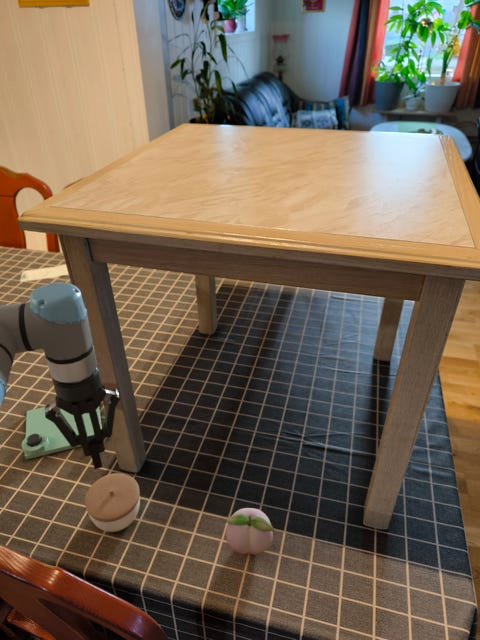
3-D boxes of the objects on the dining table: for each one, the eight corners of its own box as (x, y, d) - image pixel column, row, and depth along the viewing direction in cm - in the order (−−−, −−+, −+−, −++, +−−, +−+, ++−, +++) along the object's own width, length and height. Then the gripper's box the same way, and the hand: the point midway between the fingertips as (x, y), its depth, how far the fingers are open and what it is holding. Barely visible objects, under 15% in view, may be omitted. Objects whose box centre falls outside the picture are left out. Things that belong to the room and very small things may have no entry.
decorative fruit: (271, 527, 92) (274, 497, 87) (272, 566, 85) (275, 537, 80) (226, 525, 93) (226, 495, 87) (223, 564, 86) (223, 534, 80)
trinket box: (114, 488, 100) (107, 460, 94) (153, 507, 96) (149, 479, 91) (80, 528, 91) (71, 500, 86) (121, 550, 88) (114, 523, 82)
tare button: (28, 448, 105) (26, 443, 104) (28, 439, 107) (27, 435, 106) (41, 445, 106) (39, 440, 105) (41, 436, 108) (39, 432, 107)
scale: (24, 463, 105) (21, 453, 103) (27, 416, 118) (23, 406, 116) (104, 443, 110) (102, 433, 108) (98, 400, 123) (96, 391, 121)
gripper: (111, 349, 79) (127, 440, 92) (33, 365, 75) (62, 458, 88) (117, 375, 74) (134, 467, 86) (33, 394, 70) (64, 488, 82)
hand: (97, 462), depth 87 cm, fingers closed
